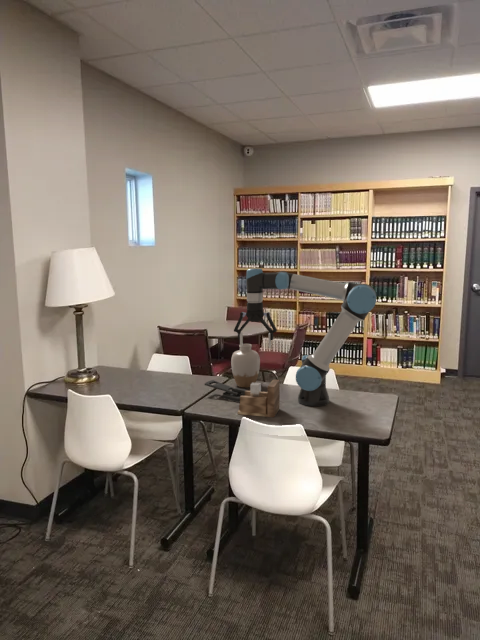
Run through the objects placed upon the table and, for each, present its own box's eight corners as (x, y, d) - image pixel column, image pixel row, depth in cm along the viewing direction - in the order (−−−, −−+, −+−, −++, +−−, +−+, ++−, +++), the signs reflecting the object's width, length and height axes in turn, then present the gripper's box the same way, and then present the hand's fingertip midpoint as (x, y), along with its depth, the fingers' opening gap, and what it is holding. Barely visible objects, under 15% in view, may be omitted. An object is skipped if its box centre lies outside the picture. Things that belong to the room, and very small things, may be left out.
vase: (262, 388, 257) (262, 346, 254) (234, 390, 254) (233, 348, 251) (256, 380, 272) (256, 341, 269) (229, 382, 269) (228, 342, 266)
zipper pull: (212, 379, 251) (253, 386, 238) (212, 391, 252) (253, 398, 239) (202, 383, 244) (243, 390, 231) (202, 395, 245) (244, 403, 231)
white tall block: (260, 408, 221) (260, 383, 219) (258, 410, 217) (258, 385, 215) (252, 407, 222) (252, 382, 220) (250, 410, 218) (250, 384, 216)
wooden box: (279, 408, 223) (279, 379, 221) (274, 417, 211) (274, 386, 209) (244, 405, 227) (244, 377, 225) (237, 414, 216) (237, 384, 214)
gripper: (282, 301, 222) (282, 345, 225) (230, 301, 227) (231, 344, 230) (280, 302, 215) (280, 348, 217) (226, 302, 220) (228, 347, 223)
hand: (255, 346), depth 224 cm, fingers open, 13 cm apart
